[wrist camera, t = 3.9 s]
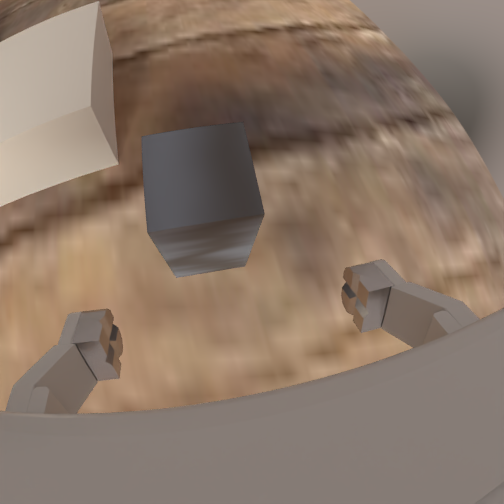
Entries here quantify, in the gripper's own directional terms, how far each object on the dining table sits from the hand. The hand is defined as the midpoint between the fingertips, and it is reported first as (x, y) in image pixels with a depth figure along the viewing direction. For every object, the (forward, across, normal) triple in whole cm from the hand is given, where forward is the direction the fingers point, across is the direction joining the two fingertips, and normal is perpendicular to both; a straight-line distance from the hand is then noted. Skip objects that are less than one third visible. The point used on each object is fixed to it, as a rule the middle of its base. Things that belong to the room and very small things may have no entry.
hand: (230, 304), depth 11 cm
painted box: (+24, +16, -6) cm, 29 cm away
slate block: (+13, 0, +4) cm, 13 cm away
